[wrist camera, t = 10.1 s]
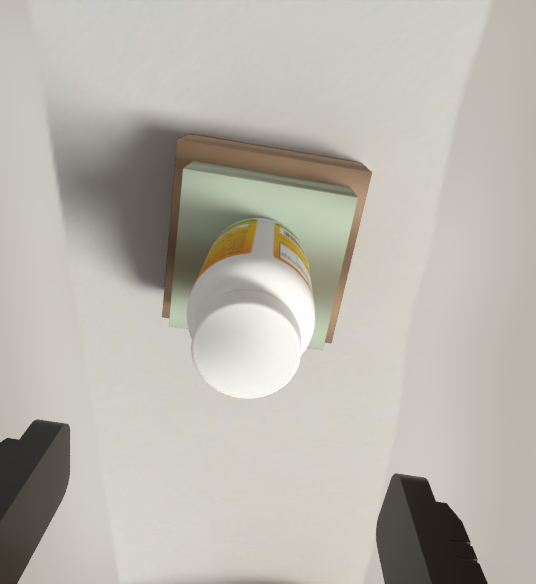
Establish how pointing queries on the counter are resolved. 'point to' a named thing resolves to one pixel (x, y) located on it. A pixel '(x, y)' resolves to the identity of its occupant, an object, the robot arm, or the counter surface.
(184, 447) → the counter surface
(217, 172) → the podium
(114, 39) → the counter surface
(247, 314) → the supplement bottle
